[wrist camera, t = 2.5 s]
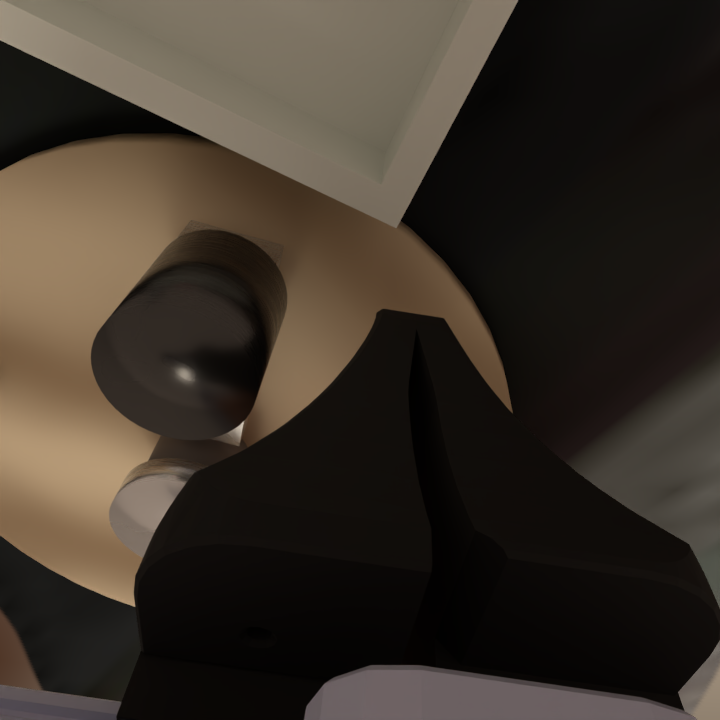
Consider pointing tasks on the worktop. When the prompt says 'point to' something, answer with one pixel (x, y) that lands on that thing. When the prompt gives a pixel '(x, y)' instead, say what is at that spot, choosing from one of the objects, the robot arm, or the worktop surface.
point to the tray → (284, 77)
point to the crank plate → (118, 277)
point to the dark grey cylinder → (188, 358)
